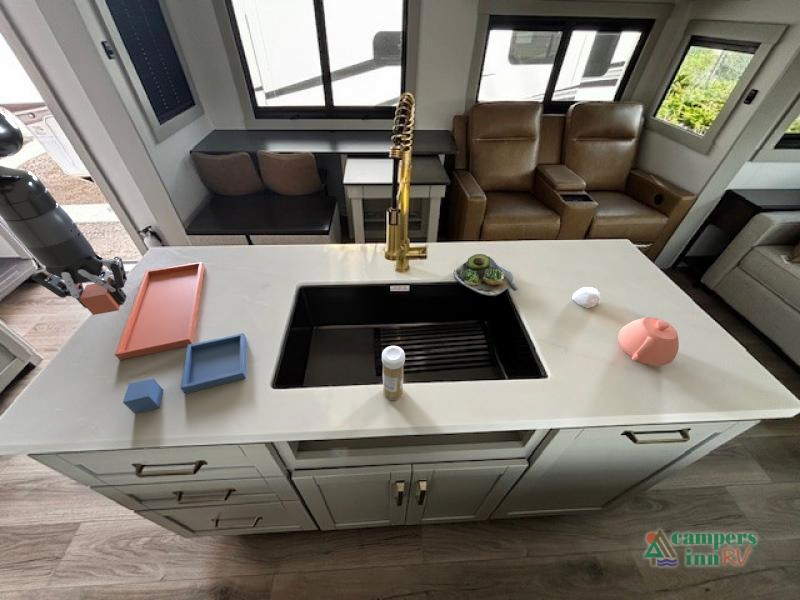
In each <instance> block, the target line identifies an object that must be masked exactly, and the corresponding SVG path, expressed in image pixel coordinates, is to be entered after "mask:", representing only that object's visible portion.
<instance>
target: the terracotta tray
mask: <svg viewBox="0 0 800 600" xmlns="http://www.w3.org/2000/svg"><path fill="white" fill-rule="evenodd" d="M205 269H206V268H205V265H204V263H203V261H199V262H193V263H186V264H180V265H174V266H173V265H172V266H167V267H162V268H155V269H148V270H145V272H144V274H143V277H142V279H141V282H140V285H139V288H138V290H137V293H136V296H135V298H134V301H133V304H132V307H131V309H130V312H129V314H128V318H127V320H126V323H125V324H124V325H125V326H124V329H123V331H122V333H121V337H120V338H119V341H118V344H117V346H116V350H115V353H114V356H115V357H116V358H117V359H118V360H119V361H124V360H127V359H132V358H136V357H141V356H145V355H150V354H155V353H159V352H164V351H169V350H173V349H178V348H182V347H188V345H190V344H194V337H195V330H196V325H197V318H198V312H199V307H200V306H199V305H200V301H201V294H202V293H201V292H202V288H203V280H204V275H205Z"/></svg>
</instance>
